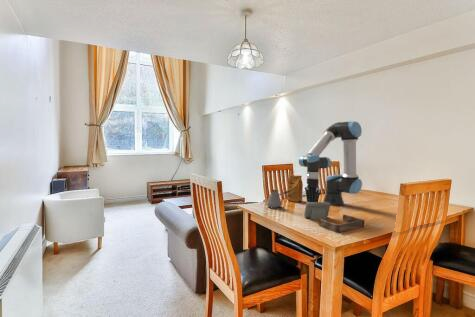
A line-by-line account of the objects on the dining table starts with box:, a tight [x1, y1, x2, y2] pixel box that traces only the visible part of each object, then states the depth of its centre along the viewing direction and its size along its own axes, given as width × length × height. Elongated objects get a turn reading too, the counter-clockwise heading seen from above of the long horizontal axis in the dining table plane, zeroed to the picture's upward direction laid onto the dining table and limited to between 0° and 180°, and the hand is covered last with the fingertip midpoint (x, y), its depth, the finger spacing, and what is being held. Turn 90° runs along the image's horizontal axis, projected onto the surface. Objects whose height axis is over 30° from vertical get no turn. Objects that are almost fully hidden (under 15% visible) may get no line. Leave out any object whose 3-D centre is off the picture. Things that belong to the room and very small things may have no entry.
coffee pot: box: [266, 189, 293, 209], centre depth 191 cm, size 21×12×15 cm, turn 46°
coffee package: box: [286, 174, 304, 203], centre depth 216 cm, size 10×12×22 cm
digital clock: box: [303, 201, 331, 221], centre depth 166 cm, size 16×9×11 cm, turn 84°
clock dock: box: [318, 214, 365, 234], centre depth 149 cm, size 14×22×4 cm, turn 118°
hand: (312, 213), depth 170 cm, fingers closed
